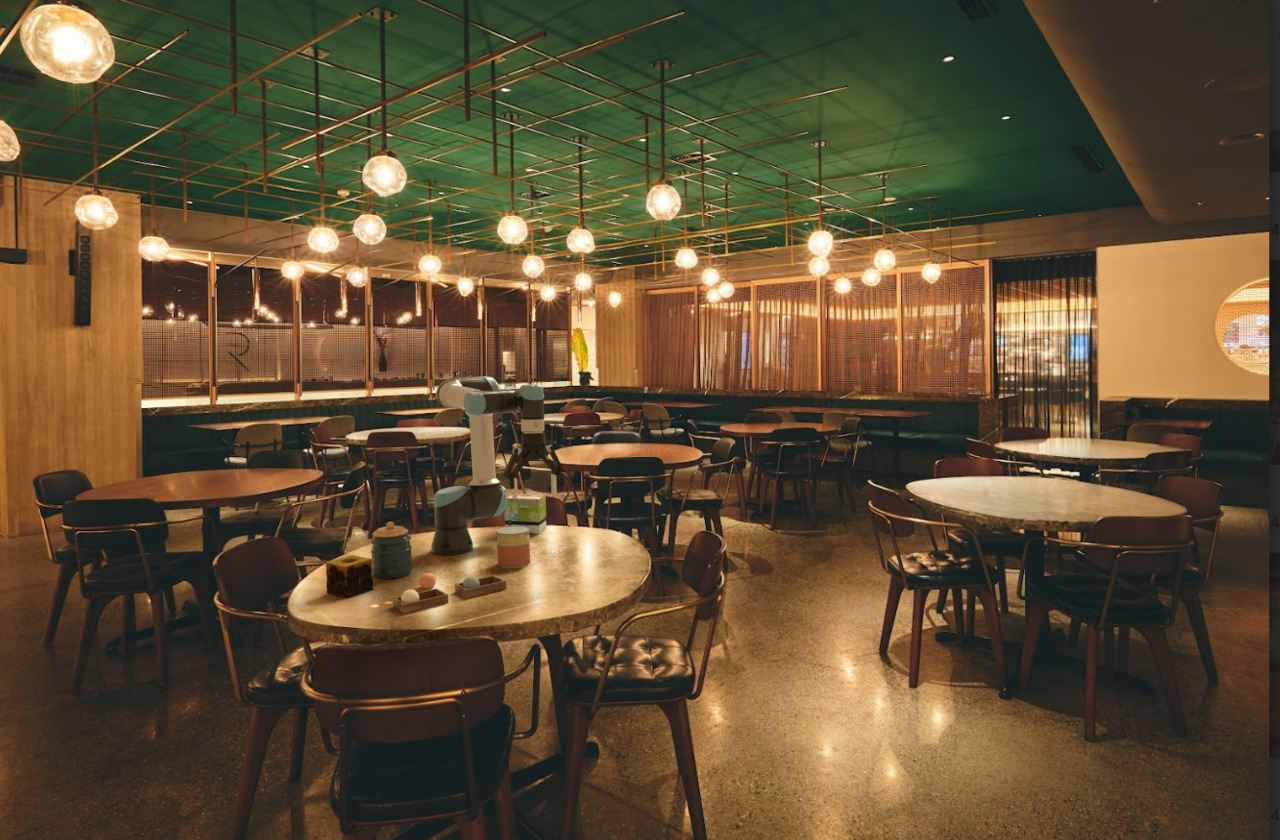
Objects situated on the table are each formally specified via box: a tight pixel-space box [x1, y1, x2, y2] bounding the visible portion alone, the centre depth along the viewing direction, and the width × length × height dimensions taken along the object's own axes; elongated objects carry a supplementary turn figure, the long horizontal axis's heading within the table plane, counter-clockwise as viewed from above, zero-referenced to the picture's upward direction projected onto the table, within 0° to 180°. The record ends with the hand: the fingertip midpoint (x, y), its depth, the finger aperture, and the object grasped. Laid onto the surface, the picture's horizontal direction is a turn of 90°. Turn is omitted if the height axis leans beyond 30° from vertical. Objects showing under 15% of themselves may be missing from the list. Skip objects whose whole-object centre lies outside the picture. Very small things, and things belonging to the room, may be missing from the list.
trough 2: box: [454, 574, 507, 599], centre depth 218 cm, size 8×13×3 cm, turn 130°
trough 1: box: [392, 588, 449, 614], centre depth 206 cm, size 8×13×3 cm, turn 130°
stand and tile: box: [367, 601, 393, 609], centre depth 214 cm, size 14×24×1 cm, turn 130°
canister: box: [369, 521, 413, 580], centre depth 239 cm, size 13×13×18 cm
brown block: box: [325, 554, 375, 600], centre depth 220 cm, size 10×10×10 cm
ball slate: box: [462, 575, 480, 589], centre depth 216 cm, size 5×5×5 cm
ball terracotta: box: [418, 572, 437, 590], centre depth 222 cm, size 5×5×5 cm
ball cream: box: [400, 589, 419, 604], centre depth 204 cm, size 5×5×5 cm
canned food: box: [496, 526, 531, 569], centre depth 248 cm, size 11×11×12 cm
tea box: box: [504, 493, 547, 535], centre depth 296 cm, size 15×10×15 cm
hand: (534, 496), depth 234 cm, fingers open, 13 cm apart
